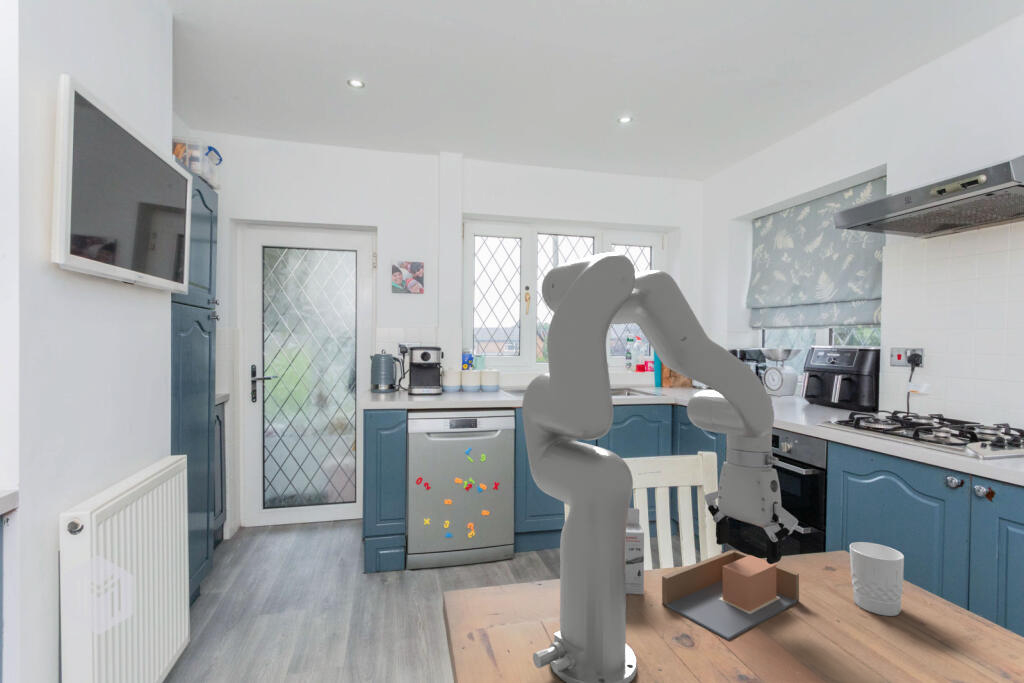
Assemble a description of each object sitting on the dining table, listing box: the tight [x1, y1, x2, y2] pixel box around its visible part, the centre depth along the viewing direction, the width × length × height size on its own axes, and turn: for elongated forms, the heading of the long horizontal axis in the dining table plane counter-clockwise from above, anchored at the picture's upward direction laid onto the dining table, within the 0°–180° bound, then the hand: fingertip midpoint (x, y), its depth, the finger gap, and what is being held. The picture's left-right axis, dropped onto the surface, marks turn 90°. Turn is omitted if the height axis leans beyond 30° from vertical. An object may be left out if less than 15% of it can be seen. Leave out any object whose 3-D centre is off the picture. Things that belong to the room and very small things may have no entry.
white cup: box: [849, 541, 905, 617], centre depth 87 cm, size 8×8×10 cm
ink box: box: [626, 507, 645, 595], centre depth 94 cm, size 9×5×15 cm, turn 84°
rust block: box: [723, 554, 777, 612], centre depth 89 cm, size 5×9×6 cm, turn 123°
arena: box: [661, 548, 800, 641], centre depth 88 cm, size 22×13×5 cm, turn 123°
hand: (746, 552), depth 89 cm, fingers open, 9 cm apart
